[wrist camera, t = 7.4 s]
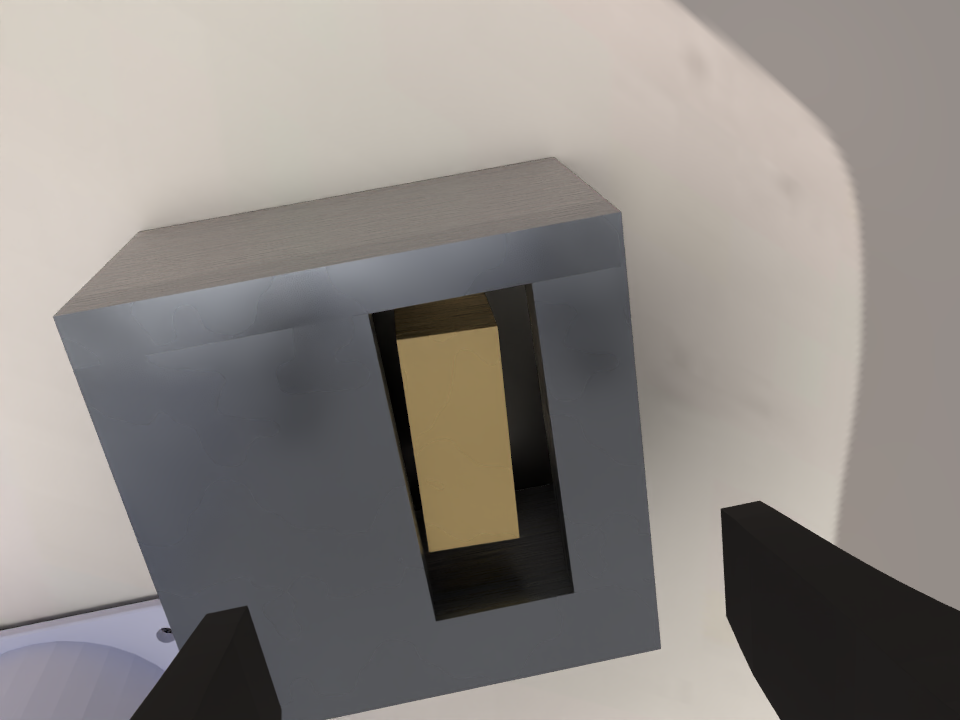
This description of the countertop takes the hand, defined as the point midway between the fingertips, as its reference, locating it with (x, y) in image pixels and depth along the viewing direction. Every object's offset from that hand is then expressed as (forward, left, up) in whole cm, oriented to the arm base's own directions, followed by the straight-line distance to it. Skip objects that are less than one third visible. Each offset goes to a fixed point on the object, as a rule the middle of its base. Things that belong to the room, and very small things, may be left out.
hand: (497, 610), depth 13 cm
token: (0, 0, -10) cm, 10 cm away
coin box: (0, +1, -10) cm, 10 cm away
